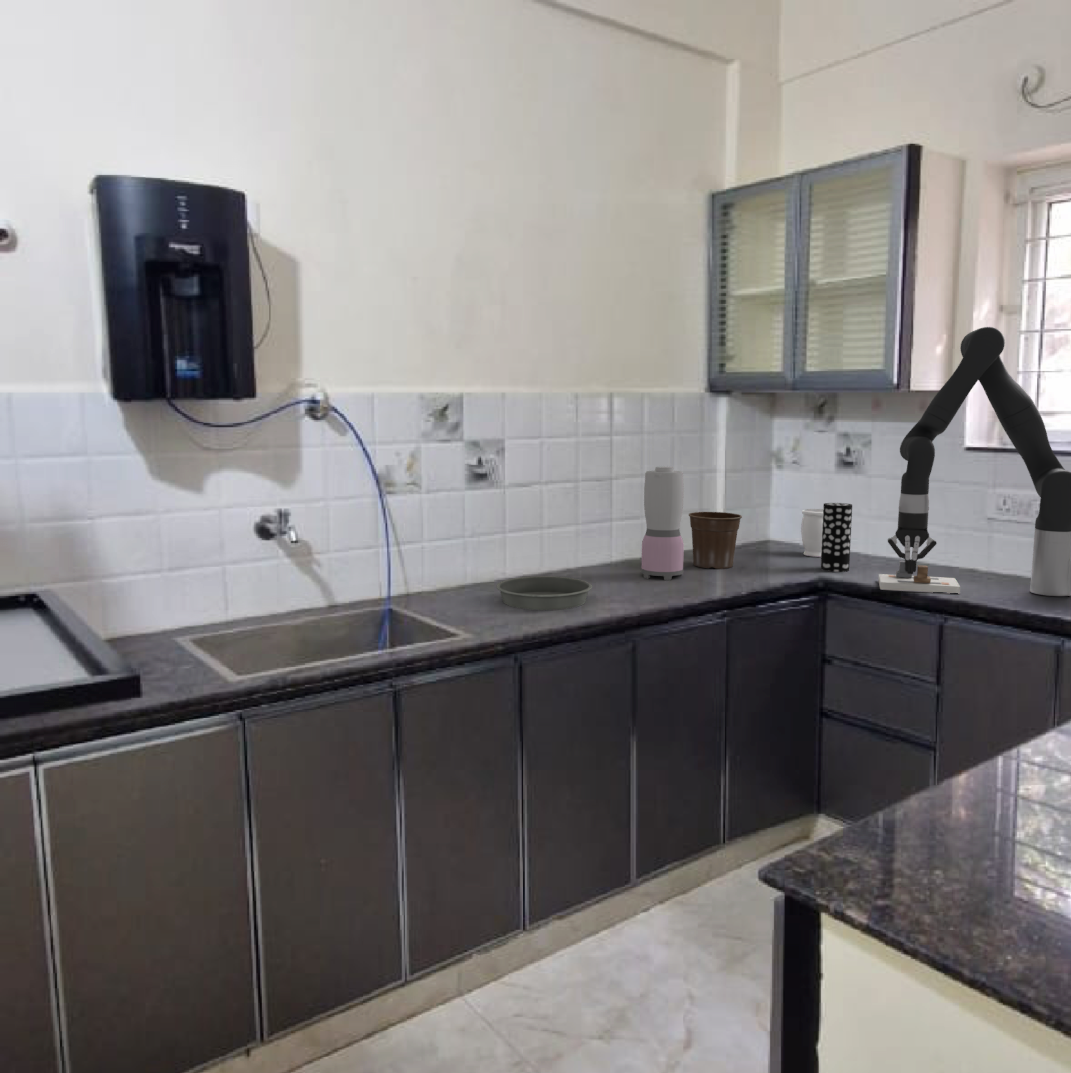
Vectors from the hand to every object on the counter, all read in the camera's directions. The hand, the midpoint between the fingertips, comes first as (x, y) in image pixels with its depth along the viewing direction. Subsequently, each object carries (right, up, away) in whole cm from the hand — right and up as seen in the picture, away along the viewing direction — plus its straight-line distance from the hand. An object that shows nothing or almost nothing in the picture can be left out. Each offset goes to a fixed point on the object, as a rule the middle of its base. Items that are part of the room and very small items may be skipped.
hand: (909, 573), depth 260 cm
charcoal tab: (+1, -1, +7) cm, 7 cm away
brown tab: (+3, -2, -1) cm, 4 cm away
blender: (-64, -2, +20) cm, 68 cm away
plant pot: (-47, +1, +37) cm, 59 cm away
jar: (-9, +4, +57) cm, 58 cm away
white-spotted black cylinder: (-11, 0, +30) cm, 32 cm away
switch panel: (+3, -4, +3) cm, 6 cm away
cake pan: (-100, -7, -15) cm, 101 cm away
